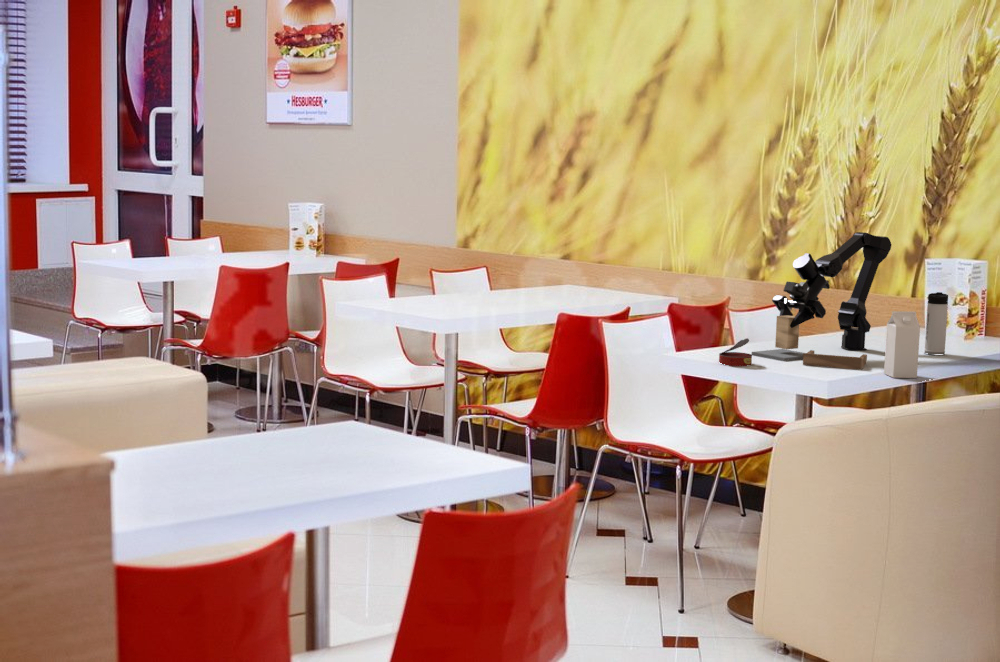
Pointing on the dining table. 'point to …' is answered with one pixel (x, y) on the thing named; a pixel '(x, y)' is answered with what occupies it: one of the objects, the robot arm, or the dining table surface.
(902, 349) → the milk carton
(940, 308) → the travel mug
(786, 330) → the packed blank
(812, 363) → the tray
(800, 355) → the mat
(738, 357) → the canned food
